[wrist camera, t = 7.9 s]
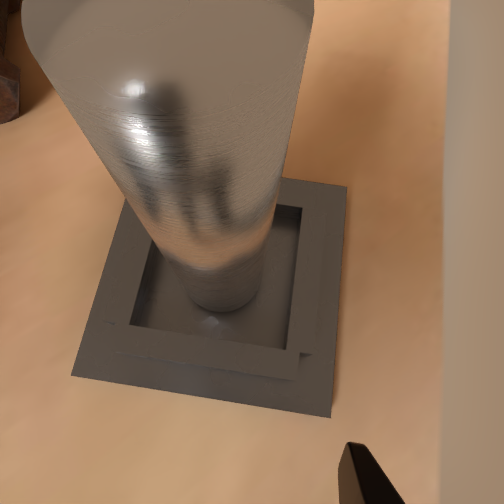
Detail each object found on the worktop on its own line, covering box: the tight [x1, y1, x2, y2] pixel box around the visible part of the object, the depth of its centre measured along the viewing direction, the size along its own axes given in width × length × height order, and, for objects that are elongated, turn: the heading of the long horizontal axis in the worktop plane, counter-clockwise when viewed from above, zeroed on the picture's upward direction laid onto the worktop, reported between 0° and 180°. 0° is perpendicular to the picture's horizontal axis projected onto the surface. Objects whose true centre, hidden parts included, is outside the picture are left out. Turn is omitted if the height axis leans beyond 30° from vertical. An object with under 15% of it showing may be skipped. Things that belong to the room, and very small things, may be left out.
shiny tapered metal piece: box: [21, 0, 314, 312], centre depth 12 cm, size 4×4×14 cm
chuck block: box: [71, 177, 347, 418], centre depth 18 cm, size 12×12×2 cm
